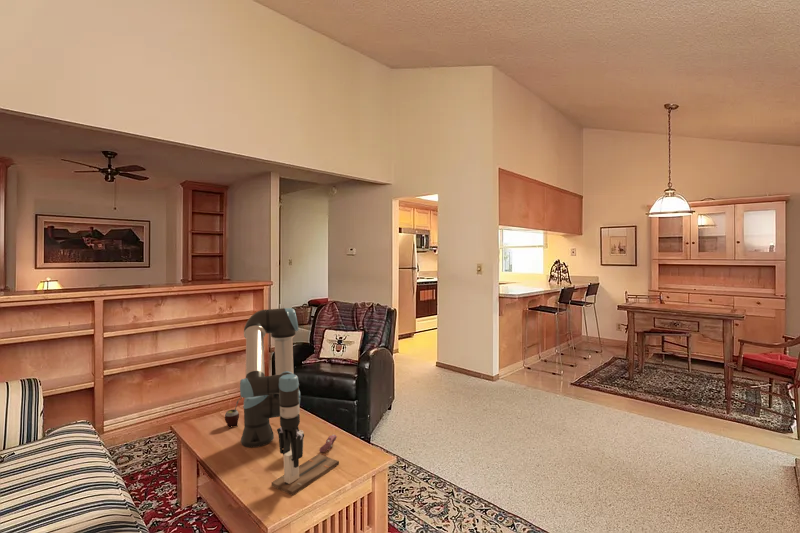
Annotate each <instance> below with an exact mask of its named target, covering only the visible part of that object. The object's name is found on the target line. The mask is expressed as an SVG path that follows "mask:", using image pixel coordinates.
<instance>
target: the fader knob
mask: <svg viewBox="0 0 800 533" xmlns="http://www.w3.org/2000/svg"><path fill="white" fill-rule="evenodd" d="M291 459H293V458H292V450H291V451H289V452H287V453H285V454H284V456H283V475H284V482H286V483H288V484H290V483H292V482H294V481H295V480H297V479H298V478H299V466H300V465H299V466H298V474H296V475H294V476H292V470H291Z"/></svg>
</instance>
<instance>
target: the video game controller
mask: <svg viewBox="0 0 800 533" xmlns="http://www.w3.org/2000/svg"><path fill="white" fill-rule="evenodd" d="M337 437H338V436H337V435H336V434H334V433H333V434H331V435H329V436H328V437H327V439H326V441H325V443H324V445H322V446H321V447H320V448H319V450H318V451H319V453H320V454H322V453H323V454H324V453H325V452H327V451H329V450H330V449H331V448H332V447H333V446H334V443H335V441H336V440H337Z"/></svg>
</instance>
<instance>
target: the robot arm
mask: <svg viewBox="0 0 800 533" xmlns="http://www.w3.org/2000/svg"><path fill="white" fill-rule="evenodd" d="M298 331H299V323H298V317H297V314H296V310H295V309H294V308H292V307H290V308H289V307H283V308H281V307H280V308H272V309H271V308H270V309H269V308H268V309H261V310H258V311H256V312H255V313H253V314H252V315H251V316H250V317H249V318H248V319H247V321H246V323H245V325H244V328H243V336H244V338H245V378H241V379H240V381H239V393H240V397H242V398H243V406H242V407H243V417H244V418H243V420H244V421H243V423H244V424H243V426H244V427H243V431H242V434H241V438H240V443H241V444H240V445H242V446H243V447H245V448H258V447H263V446H265V445H268V444H270V443H271V442H273V440H274V434H275V433H274V430H273V428H272V426H271V424H270V419H273V418H279V426H280V427H279V428H276V432H277V434H278V447H279V453H280V455H282V456H283V457H284V454H285V453H287V452H289V451H290V443H291V450H292V458H293V459H291V470H292V476H294V475H296V474H298V466H300V459H301V458H303V454H304V438H305V434H301V433H300V432H299V430H300V428H299V425H300V422H301V418H300V406H301V405H300V404H301V391H300V388H299V386H300V383H299V382H300V381H299V377H298V375H296V374H295V373H294V346H293V338H294V337H295V336H296V332H297V333H298ZM266 334H270V337H271V339H273V340H274V361H275V362H274V365H275V367H274V368H275V374H274V375H266V374H265V346H264V343H265V342H264V339H265V336H266ZM265 375H266V376H265Z"/></svg>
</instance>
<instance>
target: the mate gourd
mask: <svg viewBox="0 0 800 533" xmlns="http://www.w3.org/2000/svg"><path fill="white" fill-rule="evenodd" d="M242 398H243V397H241V396H240V397H239V398H238V400H237V401H236V404H235V408H234V409H230V410H227V411H226V412H225V414H224V420H225V422H226V426H227V425H228V426H227V427H231V426H237V427H238V426H239V425H238V422H239V420H240V419H239V418H240V413H239V411H238V410H237V406H238V404H239V401H240V400H241V399H242ZM231 428H232V427H231Z"/></svg>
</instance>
